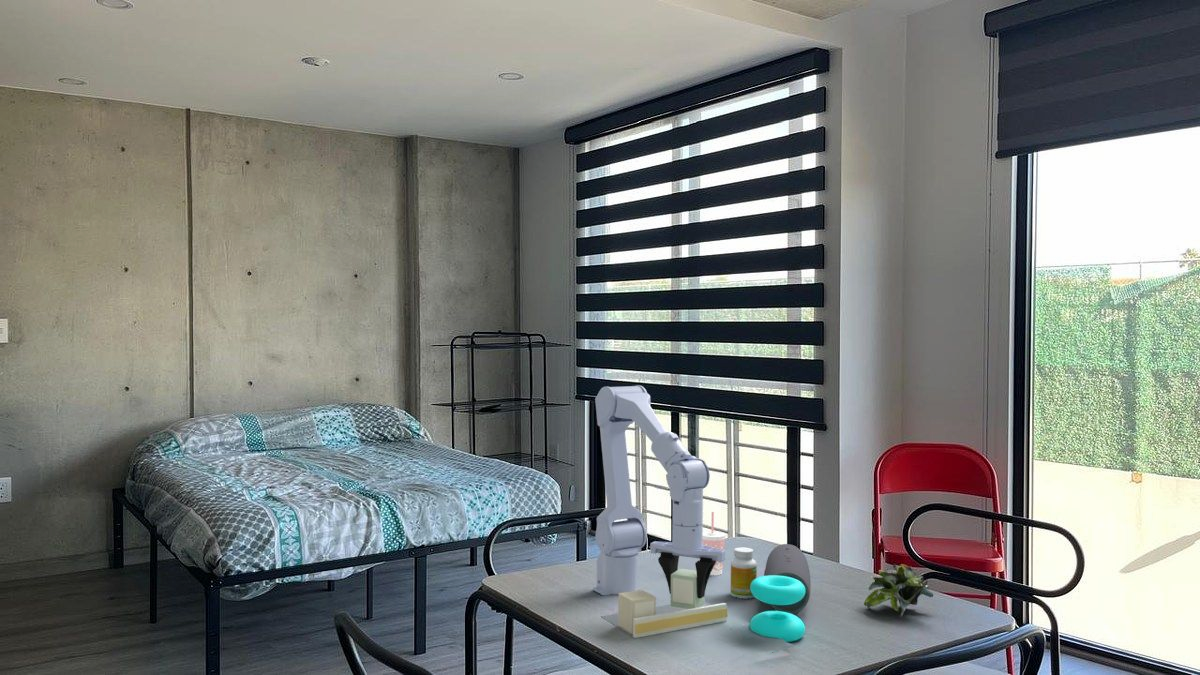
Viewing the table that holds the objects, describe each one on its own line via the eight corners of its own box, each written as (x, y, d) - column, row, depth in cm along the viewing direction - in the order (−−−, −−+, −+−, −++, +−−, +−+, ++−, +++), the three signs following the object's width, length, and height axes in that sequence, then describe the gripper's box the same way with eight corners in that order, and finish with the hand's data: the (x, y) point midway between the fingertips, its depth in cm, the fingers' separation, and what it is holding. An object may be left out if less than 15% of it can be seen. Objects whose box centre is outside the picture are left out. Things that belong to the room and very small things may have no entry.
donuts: (769, 570, 169) (815, 580, 162) (768, 622, 169) (815, 634, 162) (739, 581, 161) (787, 592, 155) (739, 635, 162) (786, 649, 155)
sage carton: (680, 599, 170) (680, 568, 170) (704, 603, 168) (704, 571, 168) (670, 606, 166) (670, 574, 166) (695, 610, 164) (695, 578, 164)
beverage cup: (727, 576, 199) (727, 515, 199) (700, 576, 199) (700, 514, 199) (723, 569, 205) (724, 509, 205) (697, 568, 205) (698, 509, 205)
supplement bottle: (756, 600, 182) (756, 553, 182) (729, 598, 183) (730, 551, 183) (756, 592, 188) (757, 547, 187) (731, 590, 189) (731, 545, 189)
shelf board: (600, 622, 168) (600, 599, 168) (688, 607, 177) (688, 585, 177) (635, 645, 156) (635, 620, 156) (727, 627, 165) (727, 604, 165)
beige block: (618, 625, 163) (618, 593, 163) (641, 621, 165) (641, 589, 165) (632, 634, 158) (632, 601, 158) (655, 629, 160) (656, 597, 160)
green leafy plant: (902, 633, 179) (937, 586, 179) (907, 641, 168) (944, 591, 168) (855, 597, 182) (889, 550, 182) (857, 603, 171) (894, 553, 171)
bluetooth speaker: (764, 585, 193) (765, 540, 193) (808, 588, 191) (808, 542, 191) (762, 619, 171) (763, 567, 170) (811, 622, 169) (812, 571, 169)
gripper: (730, 523, 167) (730, 594, 167) (660, 515, 173) (659, 584, 174) (718, 530, 161) (718, 604, 161) (646, 522, 167) (645, 593, 167)
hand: (687, 594), depth 167 cm, fingers closed on sage carton, 5 cm apart
